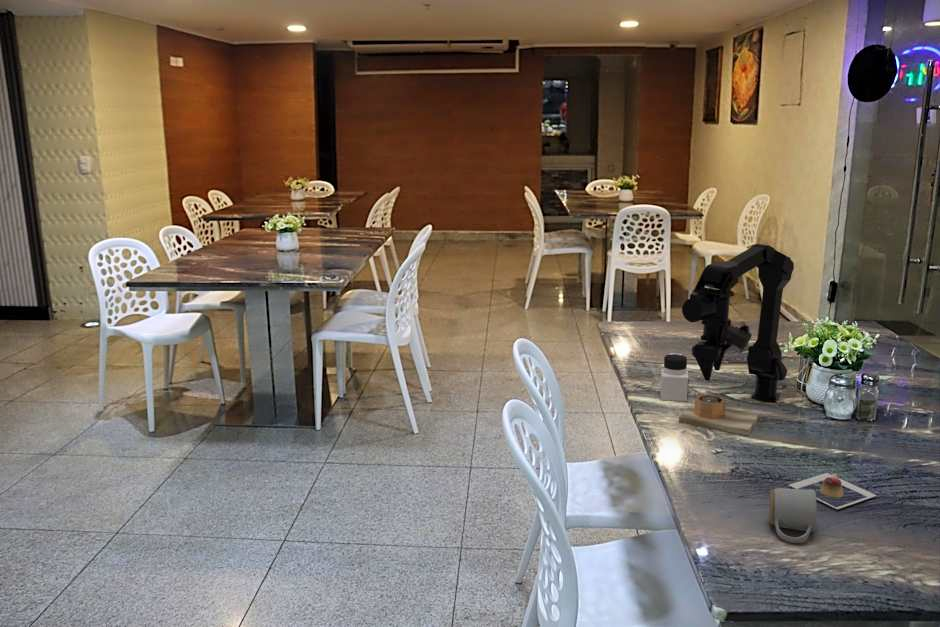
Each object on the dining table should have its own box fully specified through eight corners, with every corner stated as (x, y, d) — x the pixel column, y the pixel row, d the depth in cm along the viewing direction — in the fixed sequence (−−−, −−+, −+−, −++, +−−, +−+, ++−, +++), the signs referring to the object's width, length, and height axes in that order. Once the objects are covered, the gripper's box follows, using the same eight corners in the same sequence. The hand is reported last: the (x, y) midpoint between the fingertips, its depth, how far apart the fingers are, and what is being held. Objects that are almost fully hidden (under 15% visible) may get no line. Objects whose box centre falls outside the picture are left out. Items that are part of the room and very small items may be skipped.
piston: (703, 410, 206) (704, 395, 205) (719, 412, 204) (720, 398, 203) (699, 414, 202) (700, 400, 201) (715, 417, 200) (716, 402, 199)
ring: (699, 407, 208) (700, 392, 207) (726, 412, 204) (728, 397, 203) (691, 415, 202) (692, 400, 201) (719, 420, 198) (720, 405, 197)
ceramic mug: (766, 513, 155) (770, 478, 153) (812, 519, 153) (815, 483, 151) (769, 542, 146) (772, 504, 144) (817, 548, 143) (821, 510, 141)
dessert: (836, 514, 156) (839, 492, 155) (787, 489, 166) (789, 468, 165) (876, 500, 161) (879, 478, 160) (826, 477, 172) (828, 456, 171)
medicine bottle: (687, 402, 216) (690, 359, 213) (660, 400, 217) (662, 358, 214) (686, 393, 222) (688, 352, 220) (659, 391, 224) (661, 351, 221)
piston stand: (692, 407, 211) (692, 402, 211) (758, 419, 203) (759, 414, 202) (678, 422, 201) (679, 417, 201) (747, 435, 193) (748, 430, 192)
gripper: (740, 328, 185) (735, 391, 189) (758, 311, 200) (753, 370, 204) (693, 322, 190) (689, 383, 194) (713, 306, 206) (709, 363, 210)
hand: (712, 375), depth 200 cm, fingers open, 9 cm apart
